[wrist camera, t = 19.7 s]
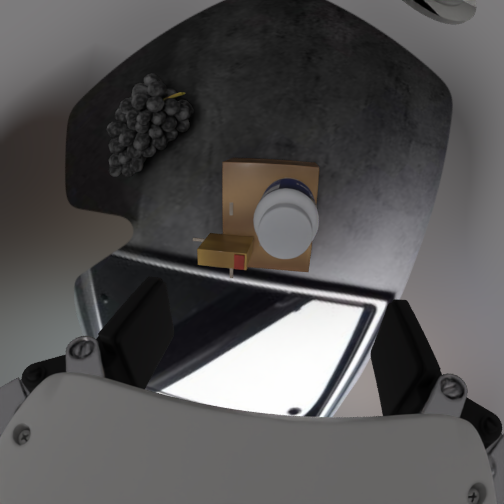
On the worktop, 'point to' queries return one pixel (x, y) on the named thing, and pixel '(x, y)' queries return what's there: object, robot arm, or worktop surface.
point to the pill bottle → (286, 218)
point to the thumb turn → (226, 251)
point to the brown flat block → (248, 196)
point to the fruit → (145, 125)
